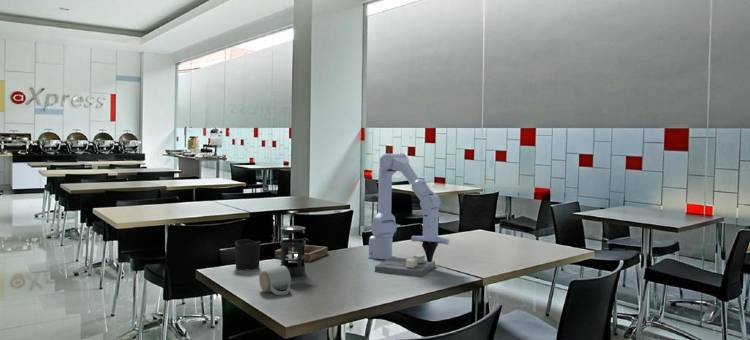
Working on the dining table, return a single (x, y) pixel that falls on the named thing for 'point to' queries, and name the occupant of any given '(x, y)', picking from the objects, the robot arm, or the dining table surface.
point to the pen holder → (247, 254)
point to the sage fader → (420, 258)
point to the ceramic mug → (275, 280)
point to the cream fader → (411, 262)
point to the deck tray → (311, 254)
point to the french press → (293, 267)
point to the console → (404, 267)
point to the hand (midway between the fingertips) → (429, 261)
